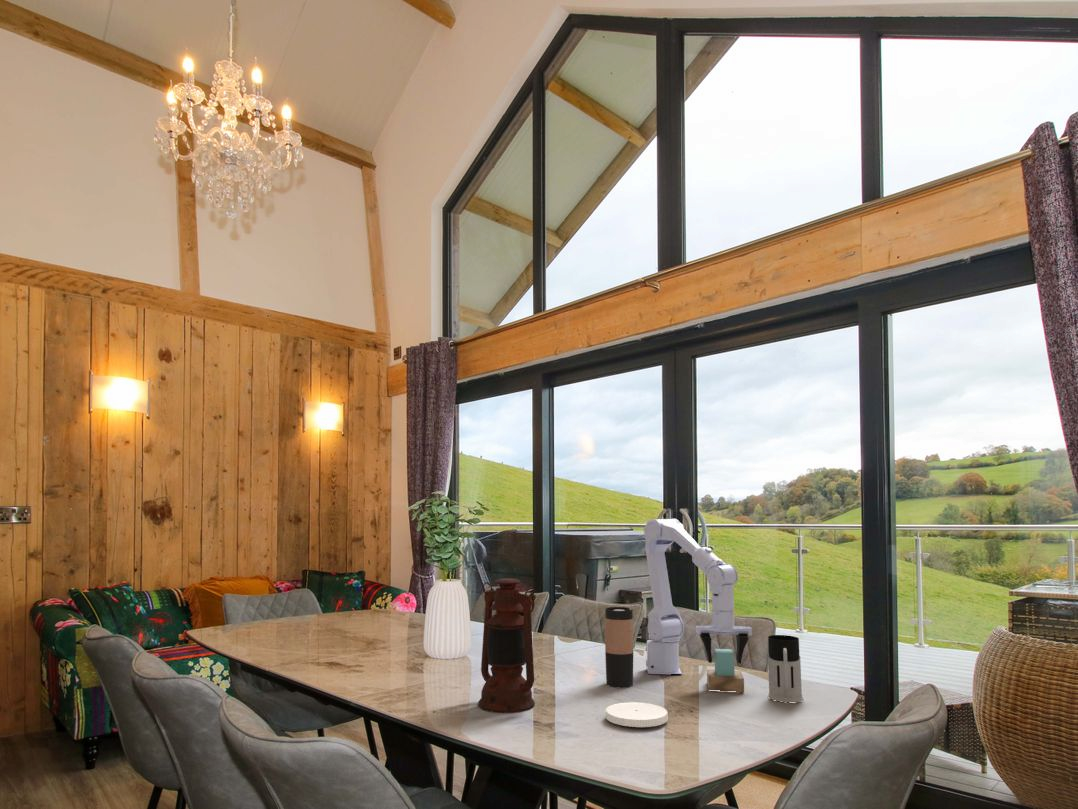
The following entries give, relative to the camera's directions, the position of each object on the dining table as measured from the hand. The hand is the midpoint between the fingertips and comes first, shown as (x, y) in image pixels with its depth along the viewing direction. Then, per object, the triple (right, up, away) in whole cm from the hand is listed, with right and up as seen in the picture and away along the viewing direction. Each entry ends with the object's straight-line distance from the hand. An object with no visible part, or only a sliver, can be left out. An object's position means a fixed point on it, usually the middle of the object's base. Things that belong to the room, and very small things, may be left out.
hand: (724, 662), depth 199 cm
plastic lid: (-28, -3, -30) cm, 41 cm away
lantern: (-58, -4, -18) cm, 61 cm away
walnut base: (0, -7, -1) cm, 7 cm away
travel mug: (-28, -7, +2) cm, 29 cm away
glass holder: (+12, -5, -14) cm, 19 cm away
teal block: (0, -3, 0) cm, 3 cm away
